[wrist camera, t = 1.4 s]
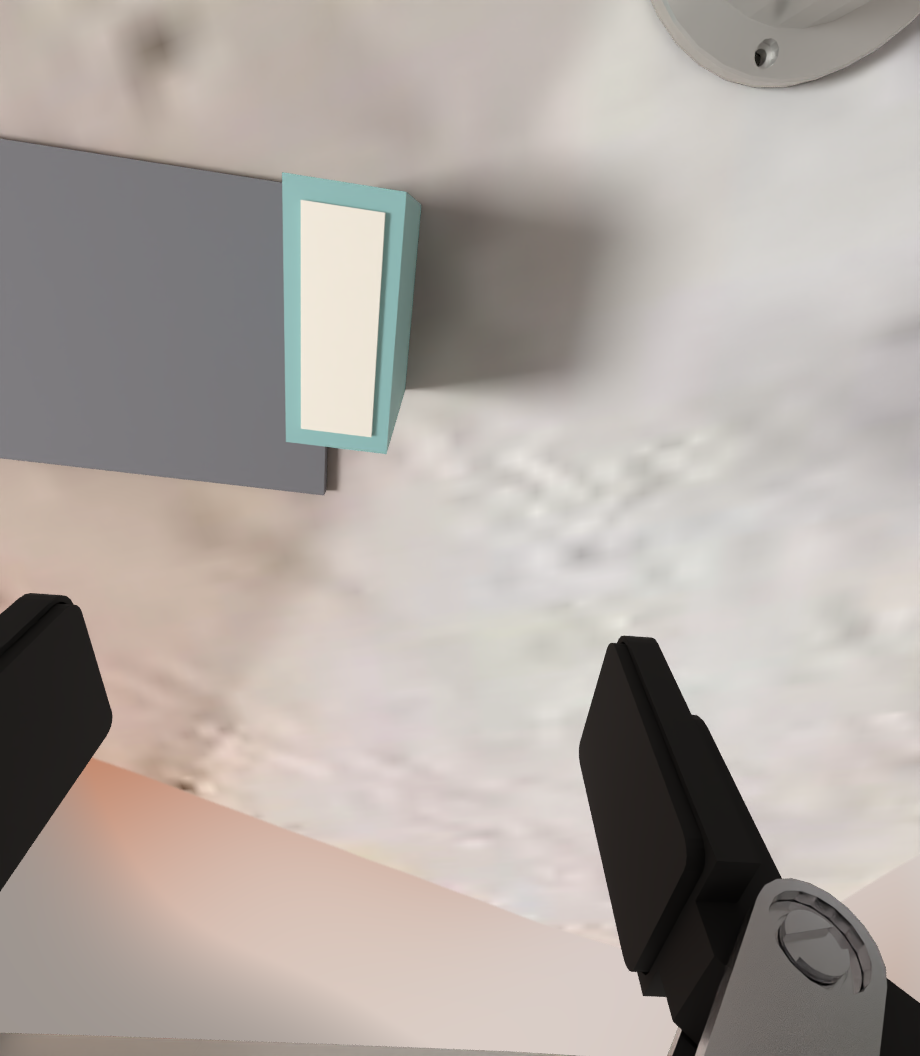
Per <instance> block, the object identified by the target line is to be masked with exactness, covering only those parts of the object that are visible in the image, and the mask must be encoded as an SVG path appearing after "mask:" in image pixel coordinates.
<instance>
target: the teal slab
mask: <svg viewBox="0 0 920 1056" xmlns="http://www.w3.org/2000/svg"><path fill="white" fill-rule="evenodd" d="M282 203H283V272H284V341H285V411H286V442H292V443H300V444H308V445H316V446H325V447H333V448H341V449H349V450H357V451H366V452H374V453H382V454H387V450H388V447H389V443H390V440H391V436H392V433H393V430H394V426H395V423H396V419H397V416H398V413H399V409H400V406H401V402H402V399H403V395H404V392H405V386H406V375H407V363H408V352H409V341H410V329H411V318H412V307H413V295H414V284H415V273H416V261H417V250H418V238H419V227H420V216H421V204H420V203H419V202H418V201H416V200H415V199H414V198H413V197H412V196H411V195H409V194H408V193H407V192H404V191H397V190H391V189H385V188H378V187H372V186H366V185H359V184H353V183H347V182H340V181H334V180H327V179H321V178H315V177H308V176H302V175H296V174H289V173H283V172H282Z"/></svg>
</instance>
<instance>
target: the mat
mask: <svg viewBox="0 0 920 1056" xmlns="http://www.w3.org/2000/svg"><path fill="white" fill-rule="evenodd" d="M0 458H3V459H12V460H21V461H29V462H38V463H47V464H56V465H64V466H73V467H82V468H90V469H99V470H108V471H117V472H125V473H134V474H143V475H151V476H160V477H169V478H178V479H186V480H195V481H204V482H212V483H221V484H230V485H239V486H247V487H256V488H265V489H273V490H282V491H291V492H300V493H308V494H317V495H324V494H325V492H326V482H327V447H325V446H316V445H308V444H300V443H292V442H286V411H285V341H284V272H283V203H282V182H275V181H269V180H262V179H256V178H250V177H243V176H237V175H230V174H224V173H218V172H211V171H205V170H198V169H192V168H186V167H179V166H173V165H166V164H160V163H153V162H147V161H141V160H134V159H128V158H121V157H115V156H109V155H102V154H96V153H89V152H83V151H77V150H70V149H64V148H57V147H51V146H45V145H38V144H32V143H25V142H19V141H13V140H6V139H0Z"/></svg>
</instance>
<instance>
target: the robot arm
mask: <svg viewBox="0 0 920 1056" xmlns="http://www.w3.org/2000/svg"><path fill="white" fill-rule="evenodd" d="M651 2H652V4H653V6H654V9H655V11H656V14H657V16H658V17H659V19H660V20H661V22H662V23H663V25H664V26H665V28H666V29H667V31H668V32H669V34H670V35H671V37H672V38H673V40H674V41H675V43H676V44H677V45H678V46H679V47H680V48H681V49H682V50H683V51H684V52H685V53H686V54H688V55H689V56H690V57H691V58H692V59H693V60H694V61H695V62H696V63H697V64H698V65H699V66H701V67H703V68H704V69H706V70H708V71H710V72H712V73H714V74H715V75H717V76H719V77H721V78H723V79H725V80H727V81H731V82H735V83H739V84H743V85H747V86H751V87H787V86H792V85H796V84H800V83H804V82H808V81H812V80H817V79H819V78H821V77H823V76H826V75H828V74H830V73H833V72H836V71H838V70H841V69H843V68H846V67H847V66H849V65H851V64H853V63H854V62H856V61H858V60H860V59H861V58H863V57H865V56H867V55H868V54H870V53H872V52H874V51H875V50H877V49H879V48H880V47H881V46H882V45H884V44H885V43H886V42H887V41H889V40H890V39H891V38H892V37H894V36H895V35H896V34H897V33H899V32H900V31H901V30H902V29H904V28H905V27H906V26H907V25H908V24H910V23H911V22H912V21H913V20H914V19H915V18H916V17H917V16H918V15H919V14H920V0H651ZM755 52H757V53H759V54H760V56H761V62H760V64H759V66H757V65H756V62H755V60H754V58H755ZM111 724H112V711H111V708H110V704H109V701H108V698H107V694H106V691H105V688H104V684H103V681H102V678H101V674H100V671H99V668H98V664H97V661H96V658H95V654H94V651H93V648H92V644H91V641H90V638H89V634H88V631H87V628H86V624H85V621H84V618H83V614H82V611H81V609H80V608H79V607H78V606H77V605H73V603H72V601H71V600H70V599H69V598H68V597H67V596H63V595H49V594H36V593H29V594H25V595H23V596H22V597H20V598H19V599H18V600H16V601H15V602H14V603H13V604H12V605H11V606H9V607H8V608H7V609H6V610H5V611H4V612H2V613H1V614H0V891H1V889H2V888H3V887H4V885H5V884H6V882H7V881H8V879H9V878H10V876H11V874H12V873H13V872H14V870H15V869H16V868H17V866H18V865H19V863H20V862H21V860H22V859H23V857H24V856H25V854H26V853H27V851H28V850H29V848H30V847H31V845H32V844H33V843H34V841H35V840H36V838H37V837H38V835H39V834H40V832H41V831H42V829H43V828H44V827H45V825H46V824H47V822H48V821H49V819H50V818H51V816H52V815H53V813H54V812H55V810H56V809H57V807H58V806H59V805H60V803H61V802H62V800H63V799H64V797H65V796H66V794H67V793H68V791H69V790H70V788H71V787H72V785H73V784H74V783H75V781H76V780H77V778H78V777H79V775H80V774H81V772H82V771H83V769H84V768H85V767H86V765H87V764H88V762H89V761H90V759H91V758H92V756H93V755H94V753H95V752H96V750H97V749H98V748H99V746H100V745H101V743H102V742H103V740H104V739H105V737H106V736H107V734H108V732H109V730H110V727H111ZM579 760H580V766H581V770H582V775H583V779H584V784H585V788H586V793H587V797H588V802H589V806H590V811H591V815H592V820H593V824H594V828H595V833H596V837H597V842H598V846H599V851H600V855H601V860H602V864H603V869H604V873H605V878H606V882H607V887H608V891H609V896H610V900H611V904H612V909H613V913H614V918H615V922H616V927H617V931H618V936H619V940H620V945H621V949H622V954H623V957H624V961H625V964H626V966H627V968H628V969H629V971H632V972H637V973H638V977H639V981H640V985H641V990H642V993H643V996H657V997H658V996H659V997H667V1001H668V1005H669V1009H670V1012H671V1016H672V1020H673V1022H674V1023H675V1024H676V1025H677V1026H678V1029H677V1031H676V1034H675V1037H674V1039H673V1042H672V1044H671V1047H670V1050H669V1052H668V1055H667V1056H920V1003H919V1002H918V1001H916V1000H915V999H913V998H912V997H911V996H909V995H908V994H907V993H906V992H904V991H903V990H902V989H900V988H899V987H898V986H896V985H895V984H894V983H893V982H891V981H890V980H888V979H887V978H886V967H885V964H884V962H883V959H882V957H881V954H880V951H879V949H878V946H877V945H876V943H875V942H874V940H873V939H872V937H871V935H870V934H869V932H868V931H867V929H866V928H865V926H864V925H863V924H862V923H861V922H860V921H859V920H858V919H857V918H856V916H855V915H854V914H853V913H852V912H851V911H850V910H849V909H848V908H847V907H846V906H845V905H844V904H842V903H841V902H840V901H838V900H837V899H836V898H835V897H833V896H832V895H831V894H829V893H828V892H826V891H824V890H822V889H820V888H818V887H816V886H814V885H812V884H811V883H807V882H804V881H800V880H796V879H793V878H789V879H782V878H781V876H780V874H779V872H778V870H777V868H776V866H775V864H774V862H773V860H772V858H771V856H770V854H769V852H768V849H767V847H766V845H765V843H764V841H763V839H762V837H761V835H760V833H759V831H758V829H757V827H756V825H755V823H754V821H753V819H752V817H751V815H750V813H749V811H748V809H747V807H746V805H745V803H744V801H743V799H742V797H741V795H740V793H739V790H738V788H737V786H736V784H735V782H734V780H733V778H732V776H731V774H730V772H729V770H728V768H727V766H726V764H725V762H724V760H723V758H722V756H721V754H720V752H719V750H718V748H717V746H716V744H715V742H714V740H713V738H712V736H711V733H710V731H709V729H708V727H707V726H706V724H705V723H704V721H703V720H702V719H701V718H700V717H698V716H697V715H691V713H690V711H689V708H688V706H687V704H686V702H685V700H684V698H683V696H682V694H681V691H680V689H679V687H678V685H677V683H676V681H675V679H674V677H673V675H672V672H671V670H670V668H669V666H668V664H667V662H666V660H665V658H664V655H663V653H662V651H661V649H660V647H659V645H658V643H657V641H656V640H655V639H654V638H649V637H635V636H621V637H620V638H619V640H618V642H617V643H610V644H609V645H608V648H607V651H606V654H605V658H604V661H603V665H602V668H601V671H600V675H599V678H598V682H597V685H596V689H595V692H594V696H593V699H592V703H591V706H590V709H589V713H588V716H587V720H586V723H585V727H584V730H583V734H582V737H581V741H580V745H579ZM0 1056H575V1055H558V1054H542V1053H526V1052H509V1051H485V1050H460V1049H435V1048H412V1047H411V1048H410V1047H387V1046H363V1045H337V1044H313V1043H285V1042H258V1041H229V1040H202V1039H172V1038H145V1037H116V1036H87V1035H54V1034H22V1033H20V1034H19V1033H0Z"/></svg>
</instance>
